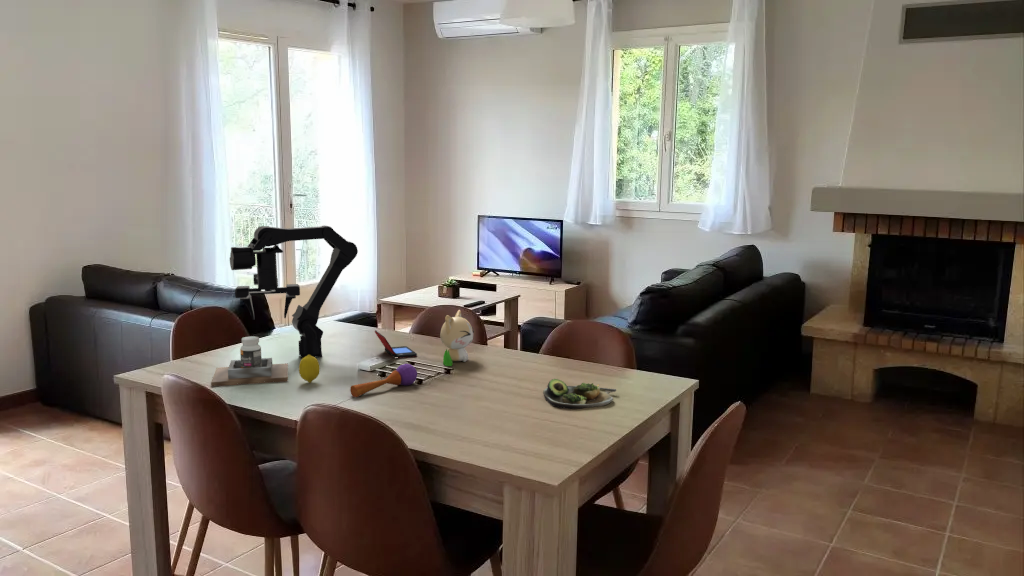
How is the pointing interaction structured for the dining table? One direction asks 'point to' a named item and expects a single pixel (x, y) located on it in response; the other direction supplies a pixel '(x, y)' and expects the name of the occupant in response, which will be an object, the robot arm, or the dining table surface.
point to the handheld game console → (396, 349)
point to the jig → (250, 373)
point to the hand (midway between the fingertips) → (269, 318)
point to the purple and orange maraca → (388, 380)
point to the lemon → (309, 368)
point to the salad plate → (576, 395)
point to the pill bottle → (250, 352)
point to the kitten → (456, 338)
